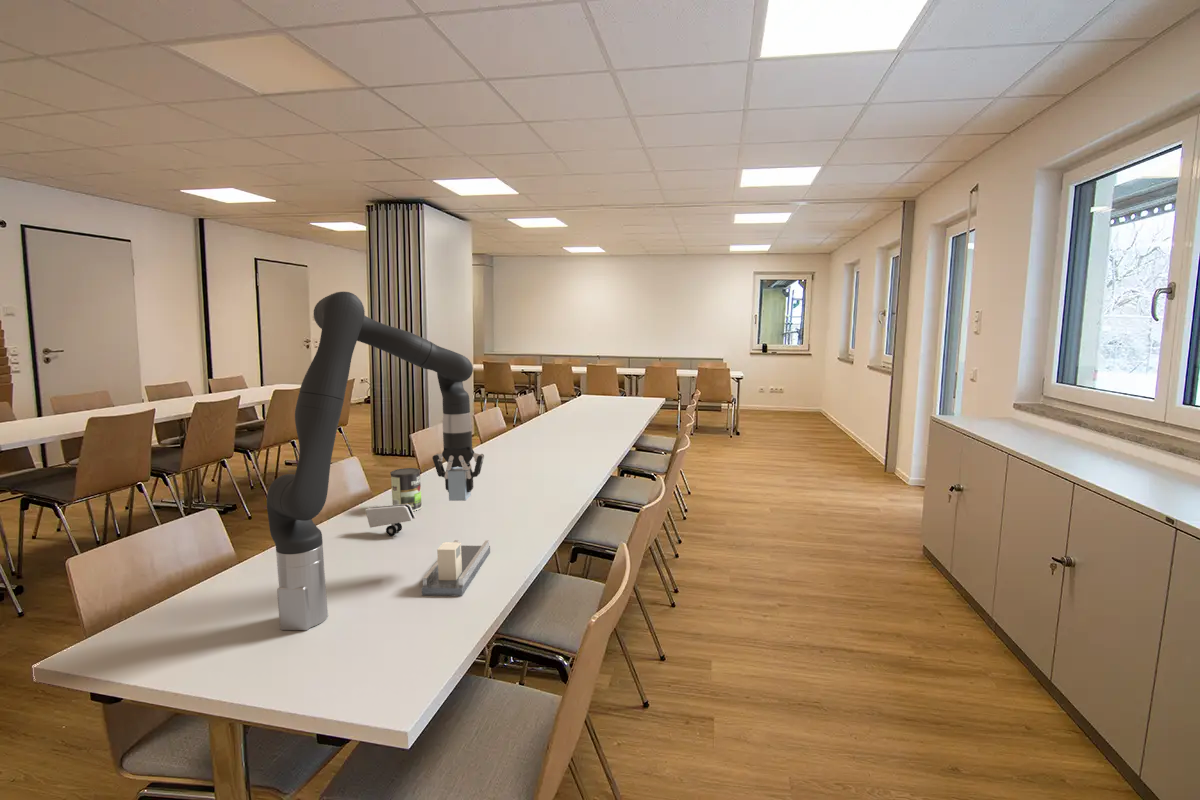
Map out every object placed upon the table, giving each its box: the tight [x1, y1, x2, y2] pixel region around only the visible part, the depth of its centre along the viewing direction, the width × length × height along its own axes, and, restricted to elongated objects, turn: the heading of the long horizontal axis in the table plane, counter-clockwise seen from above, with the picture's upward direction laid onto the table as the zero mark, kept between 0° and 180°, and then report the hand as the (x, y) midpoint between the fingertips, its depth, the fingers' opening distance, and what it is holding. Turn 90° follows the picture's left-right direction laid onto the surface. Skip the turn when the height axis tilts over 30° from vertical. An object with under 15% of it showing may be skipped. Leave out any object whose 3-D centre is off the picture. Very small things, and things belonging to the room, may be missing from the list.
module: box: [448, 467, 472, 502], centre depth 157 cm, size 5×5×8 cm
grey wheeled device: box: [364, 504, 417, 537], centre depth 185 cm, size 4×10×15 cm
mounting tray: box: [421, 539, 491, 597], centre depth 155 cm, size 28×10×4 cm, turn 177°
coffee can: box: [390, 467, 423, 512], centre depth 211 cm, size 10×10×14 cm
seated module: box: [436, 541, 462, 580], centre depth 148 cm, size 5×5×8 cm
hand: (459, 491), depth 157 cm, fingers closed on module, 4 cm apart
